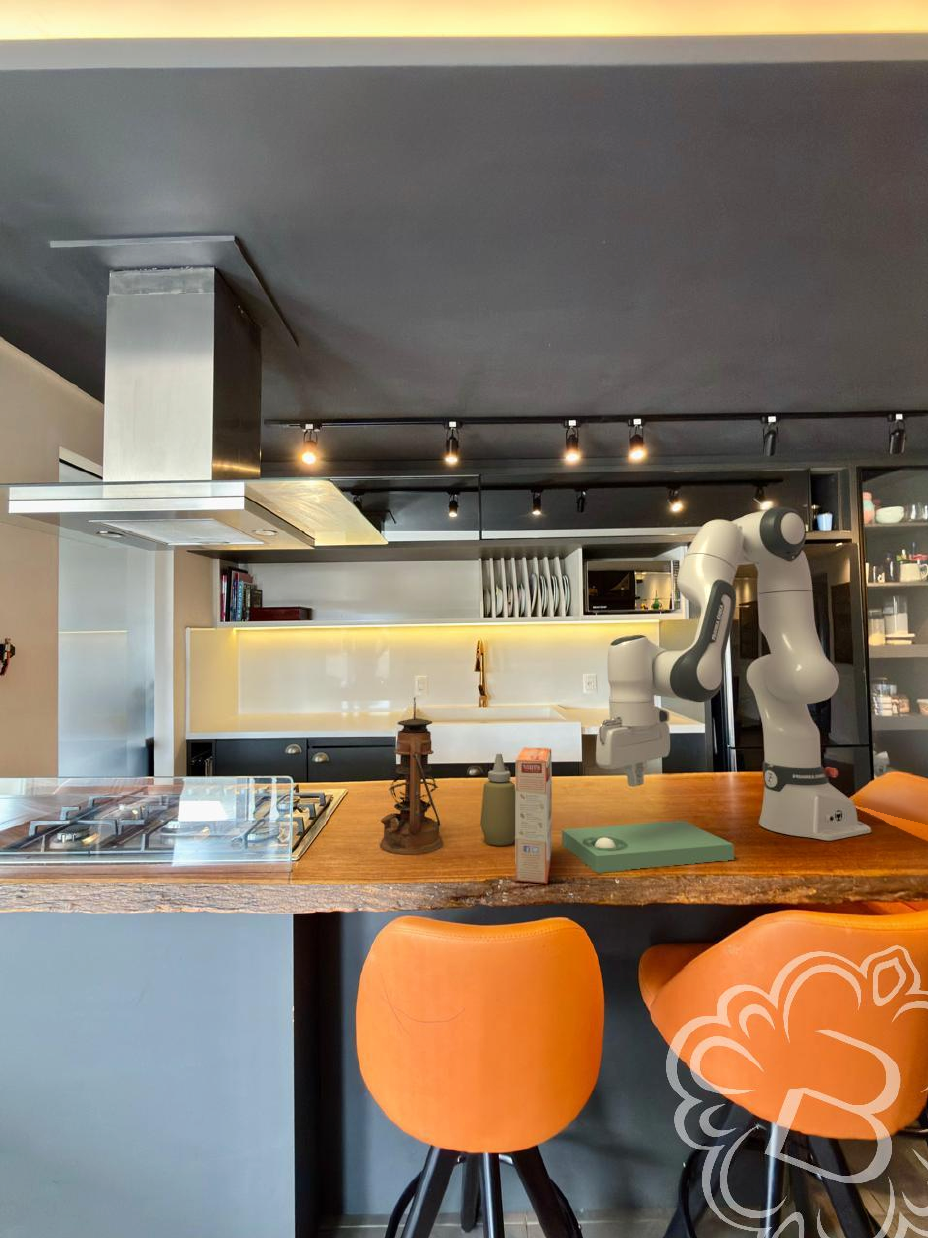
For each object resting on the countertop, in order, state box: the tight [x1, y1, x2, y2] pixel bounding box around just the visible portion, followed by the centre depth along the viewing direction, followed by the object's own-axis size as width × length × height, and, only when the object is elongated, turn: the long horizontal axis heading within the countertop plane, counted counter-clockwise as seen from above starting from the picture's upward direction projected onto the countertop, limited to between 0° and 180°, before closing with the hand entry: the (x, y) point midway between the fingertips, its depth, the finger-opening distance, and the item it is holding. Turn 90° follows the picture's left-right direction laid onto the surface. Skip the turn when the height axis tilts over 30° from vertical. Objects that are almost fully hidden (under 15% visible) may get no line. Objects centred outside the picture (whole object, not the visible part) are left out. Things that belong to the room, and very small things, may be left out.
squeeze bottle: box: [479, 753, 515, 846], centre depth 119 cm, size 8×8×18 cm
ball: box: [595, 838, 616, 848], centre depth 108 cm, size 4×4×4 cm
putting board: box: [561, 820, 735, 874], centre depth 112 cm, size 28×16×3 cm, turn 103°
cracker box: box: [514, 747, 553, 885], centre depth 104 cm, size 14×6×21 cm, turn 168°
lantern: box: [379, 697, 444, 856], centre depth 119 cm, size 17×13×30 cm
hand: (636, 785), depth 115 cm, fingers closed
